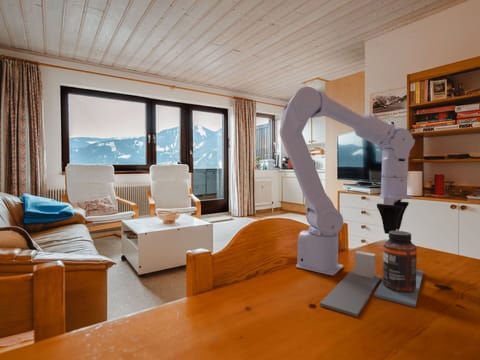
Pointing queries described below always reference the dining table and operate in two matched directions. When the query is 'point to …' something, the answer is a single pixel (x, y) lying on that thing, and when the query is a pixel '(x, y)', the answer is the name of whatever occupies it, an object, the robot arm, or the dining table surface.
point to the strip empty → (354, 286)
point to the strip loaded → (398, 296)
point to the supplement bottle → (399, 262)
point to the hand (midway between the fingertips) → (392, 231)
